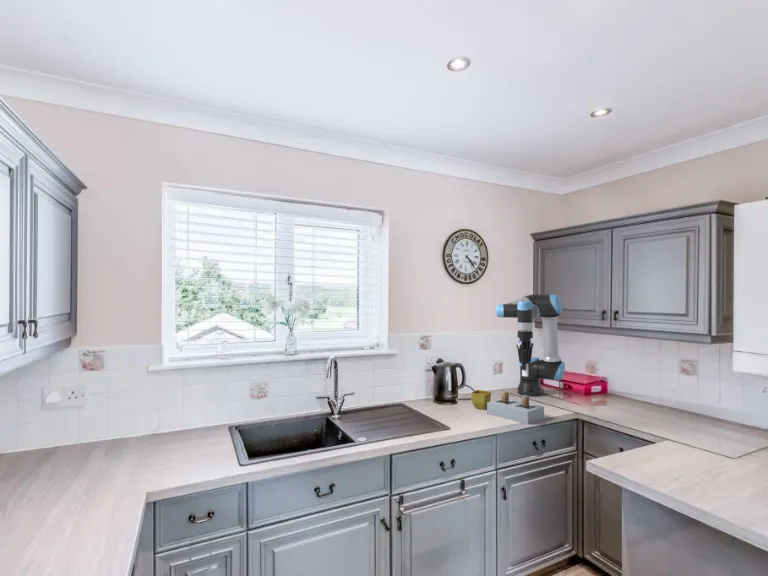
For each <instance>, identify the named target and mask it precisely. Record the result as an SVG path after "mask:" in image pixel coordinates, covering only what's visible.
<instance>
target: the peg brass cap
mask: <svg viewBox="0 0 768 576" xmlns="http://www.w3.org/2000/svg"><path fill="white" fill-rule="evenodd" d="M509 396H510V392H509V391H506V390H505V391H501V398H502V403H505V404H506V403H509V399H510V397H509Z"/></svg>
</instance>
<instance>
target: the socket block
mask: <svg viewBox="0 0 768 576" xmlns="http://www.w3.org/2000/svg"><path fill="white" fill-rule="evenodd" d="M486 414H487V415H491V416H495V417H497V418H502V419H507V420H511V421H514V422H518V423H521V424H522V423H523V424H525V425H526V424H527V425H529V424H532V423H534V422H537V421H540V420H543V419H545V406H544V405H540V404H537V403H531V402H529V408H523V407H522V400H516V399H511V398H509V403H506V404H505V403H502V397H501V398H498V399H495V400H490V402H487V408H486Z"/></svg>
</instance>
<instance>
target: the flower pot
mask: <svg viewBox="0 0 768 576" xmlns="http://www.w3.org/2000/svg"><path fill="white" fill-rule="evenodd" d="M470 396H471V397H470V398H471V403H472V405H473V406H474V408H475V409H480V410H485V409H487V402H491V397H492V391H489V390H481V389H476V390H474V391H472V392H470Z"/></svg>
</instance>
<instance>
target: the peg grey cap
mask: <svg viewBox="0 0 768 576" xmlns="http://www.w3.org/2000/svg"><path fill="white" fill-rule="evenodd" d="M521 401H522V407H523V408H529V403H530V396H527V395H521Z"/></svg>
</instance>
